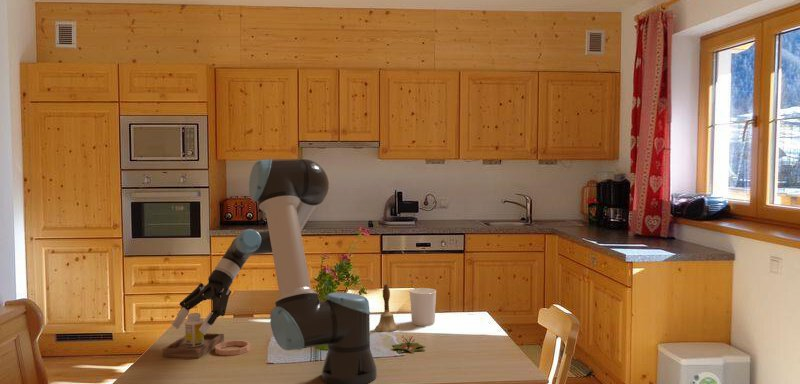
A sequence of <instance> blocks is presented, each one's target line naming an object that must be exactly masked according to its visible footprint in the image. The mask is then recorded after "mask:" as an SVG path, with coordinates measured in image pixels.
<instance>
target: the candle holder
mask: <svg viewBox="0 0 800 384" xmlns="http://www.w3.org/2000/svg"><path fill="white" fill-rule="evenodd" d="M436 296H437V289H434V288H428V287H417V288H412V289H410V290H409V299H410V300H409V301H410V312H411V313H410V315H411V316H410V317H411V324H412V325H414V326H419V327H422V326H423V327H424V326H432V325H434V324H435V322H436V319H435V318H436V302H437V301H436V300H437V297H436Z"/></svg>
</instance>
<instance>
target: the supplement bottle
mask: <svg viewBox="0 0 800 384" xmlns="http://www.w3.org/2000/svg"><path fill="white" fill-rule="evenodd" d="M201 317H202V316H201V313H200V312H192V313H188V315H187V319H186V320H185V322H184V325H185V326H184V328H185V329H184V331H185V336H186V346H187V347H190V348H194V347H200V346H202V345H203V344H204V335H203V334H202V333H201V332H200V331H199V328H200V327H201V325H202V324H203V322H204V320H203V319H202V318H201Z"/></svg>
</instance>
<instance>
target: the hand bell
mask: <svg viewBox="0 0 800 384" xmlns="http://www.w3.org/2000/svg"><path fill="white" fill-rule="evenodd" d="M390 296H391V292H390V288H389V284H383V288H382V298H383V302H384V306H383V307H384V308H383V309H384V311H383V312H382V313H381V314H380V318H379V322H378V324H377V325H376V326H375V330H376V331H377V332H382V333H383V332H384V333H390V332H396V331H398V330H399V329H400V328H399V326H398V325H397V324H396V322H395V317H394V314H393V312H391V311H390V305H389V303H390V298H391V297H390Z"/></svg>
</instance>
